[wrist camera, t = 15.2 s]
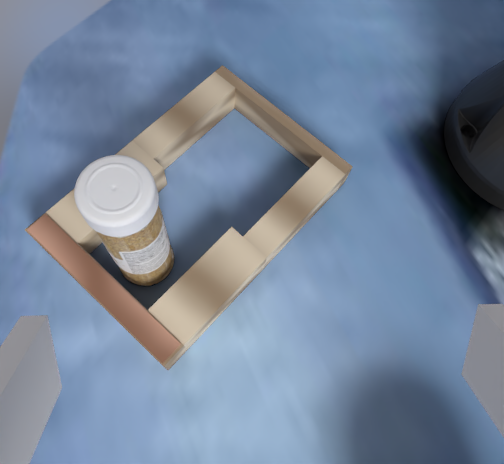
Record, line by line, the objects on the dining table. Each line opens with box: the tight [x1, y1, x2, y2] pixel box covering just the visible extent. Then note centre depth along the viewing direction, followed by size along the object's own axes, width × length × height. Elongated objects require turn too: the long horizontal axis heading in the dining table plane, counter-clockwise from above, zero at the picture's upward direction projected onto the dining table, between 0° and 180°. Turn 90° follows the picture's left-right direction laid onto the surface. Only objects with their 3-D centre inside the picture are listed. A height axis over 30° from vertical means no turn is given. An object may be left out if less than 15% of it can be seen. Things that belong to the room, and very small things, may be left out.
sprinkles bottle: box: [74, 155, 174, 286], centre depth 33 cm, size 5×5×14 cm
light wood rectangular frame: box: [25, 65, 352, 370], centre depth 40 cm, size 22×15×3 cm
